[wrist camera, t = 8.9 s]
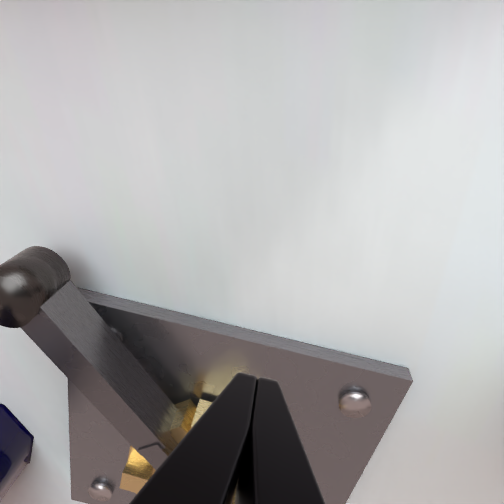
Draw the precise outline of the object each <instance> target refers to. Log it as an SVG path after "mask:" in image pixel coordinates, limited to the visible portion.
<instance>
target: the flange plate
mask: <svg viewBox="0 0 504 504" xmlns="http://www.w3.org/2000/svg"><path fill="white" fill-rule="evenodd" d="M76 288H77V287H76ZM77 289H78V290H79V291H80V293H81V294H82V295H83V296H84V297H85V299H86V300H87V301H88V302H89V303H90V305H91V306H92V307H93V308H94V309H95V311H96V312H97V313H98V314H99V315H100V317H101V318H102V319H103V320H104V321H105V323H106V324H107V325H108V326H109V327H110V329H111V330H112V331H113V332H114V333H115V335H116V336H117V337H118V338H119V339H120V341H121V342H122V343H123V344H124V345H125V347H126V348H127V349H128V350H129V351H130V352H131V354H132V355H133V356H134V357H135V358H136V360H137V361H138V362H139V363H140V364H141V366H142V367H143V368H144V369H145V370H146V372H147V373H148V374H149V375H150V376H151V378H152V379H153V380H154V381H155V382H156V384H157V385H158V386H159V387H160V388H161V390H162V391H163V392H164V393H165V394H166V396H167V397H168V398H169V399H170V400H171V402H172V403H173V404H176V403H179V402H182V401H185V400H188V399H191V400H192V401H193V403H194V404H195V405H196V406H198V403H199V400H200V399H203V400H206V401H209V402H213V401H214V400H215V399H216V398H217V397H218V395H219V394H220V393H221V392H222V391H223V389H224V388H225V387H226V386H227V384H228V383H229V382H230V381H231V380H232V378H233V377H234V376H235V375H236V374H237V373H239V372H242V373H247V374H251V375H255V376H256V377H257V380H258V378H259V377H265V378H269V379H274V380H277V381H278V382H279V384H280V387H281V389H282V392H283V394H284V397H285V400H286V402H287V405H288V407H289V410H290V413H291V415H292V418H293V420H294V423H295V425H296V428H297V431H298V433H299V436H300V438H301V441H302V444H303V446H304V449H305V451H306V454H307V457H308V459H309V462H310V464H311V467H312V470H313V472H314V475H315V477H316V480H317V483H318V485H319V488H320V490H321V493H322V495H323V498H324V501H325V503H326V504H345V503H346V501H347V500H348V498H349V496H350V494H351V492H352V490H353V489H354V487H355V485H356V483H357V481H358V480H359V478H360V476H361V474H362V472H363V471H364V469H365V467H366V465H367V463H368V462H369V460H370V458H371V456H372V454H373V452H374V451H375V449H376V447H377V445H378V443H379V442H380V440H381V438H382V436H383V434H384V433H385V431H386V429H387V427H388V425H389V424H390V422H391V420H392V418H393V416H394V414H395V413H396V411H397V409H398V407H399V405H400V404H401V402H402V400H403V398H404V396H405V395H406V393H407V391H408V389H409V387H410V386H411V384H412V382H413V380H412V377H411V374H410V372H409V369H408V368H405V367H401V366H397V365H393V364H389V363H385V362H381V361H377V360H372V359H368V358H364V357H360V356H356V355H352V354H348V353H344V352H340V351H335V350H331V349H327V348H323V347H319V346H315V345H311V344H307V343H303V342H299V341H294V340H290V339H286V338H282V337H278V336H274V335H270V334H266V333H262V332H257V331H253V330H249V329H245V328H241V327H237V326H233V325H229V324H225V323H221V322H216V321H212V320H208V319H204V318H200V317H196V316H192V315H188V314H184V313H179V312H175V311H171V310H167V309H163V308H159V307H155V306H151V305H147V304H143V303H138V302H134V301H130V300H126V299H122V298H118V297H114V296H110V295H106V294H101V293H97V292H93V291H89V290H85V289H81V288H77ZM68 402H69V435H70V468H71V499H72V500H76V501H80V502H84V503H88V504H129V503H130V502H131V500H132V499H133V498H134V497H135V496H136V493H134V492H131V491H127V490H124V489H121V488H120V483H121V478H122V472H123V470H124V468H125V466H126V463H127V461H128V455H129V450H130V443H129V442H128V441H127V440H126V439H125V438H124V437H123V436H122V435H121V434H120V433H119V432H118V431H117V430H116V429H115V428H114V426H113V425H112V424H111V423H110V422H109V421H108V420H107V419H106V418H105V417H104V416H103V415H102V414H101V413H100V412H99V410H98V409H97V408H96V407H95V406H94V405H93V404H92V403H91V402H90V401H89V400H88V399H87V398H86V397H85V396H84V394H83V393H82V392H81V391H80V390H79V389H78V388H77V387H76V386H75V385H74V384H73V383H72V382H71V381H70V380H69V379H68Z"/></svg>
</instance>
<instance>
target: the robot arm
mask: <svg viewBox="0 0 504 504" xmlns="http://www.w3.org/2000/svg"><path fill="white" fill-rule="evenodd" d="M236 485H237V488H236ZM235 489H236V495H235V504H326V503H325V501H324V498H323V495H322V493H321V490H320V488H319V485H318V483H317V480H316V477H315V475H314V472H313V470H312V467H311V464H310V462H309V459H308V457H307V454H306V451H305V449H304V446H303V444H302V441H301V438H300V436H299V433H298V431H297V428H296V425H295V423H294V420H293V418H292V415H291V413H290V410H289V407H288V405H287V402H286V400H285V397H284V394H283V392H282V389H281V387H280V384H279V382H278V381H277V380H274V379H269V378H265V377H259V378H258V380H257V377H256V376H255V375H251V374H247V373H242V372H239V373H237V374H236V375H235V376H234V377H233V378H232V380H231V381H230V382H229V383H228V384H227V386H226V387H225V388H224V389H223V391H222V392H221V393H220V394H219V395H218V397H217V398H216V399H215V400H214V401H213V403H212V404H211V405H210V406H209V407H208V409H207V410H206V411H205V412H204V413H203V415H202V416H201V417H200V418H199V419H198V421H197V422H196V423H195V424H194V426H193V427H192V428H191V429H190V430H189V432H188V433H187V434H186V435H185V436H184V438H183V439H182V440H181V441H180V442H179V444H178V445H177V446H176V447H175V448H174V450H173V451H172V452H171V453H170V454H169V456H168V457H167V458H166V459H165V461H164V462H163V463H162V464H161V465H160V467H159V468H158V469H157V470H156V471H155V473H154V474H153V475H152V476H151V477H150V479H149V480H148V481H147V482H146V483H145V485H144V486H143V487H142V488H141V490H140V491H139V492H138V493H137V494H136V496H135V497H134V498H133V499H132V500H131V502H130V503H129V504H232V501H233V497H234V493H235Z"/></svg>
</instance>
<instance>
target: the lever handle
mask: <svg viewBox="0 0 504 504" xmlns="http://www.w3.org/2000/svg"><path fill="white" fill-rule="evenodd" d="M0 325H2V326H5V327H9V328H19V327H21V328H22V330H23V331H24V332H25V333H26V334H27V335H28V336H29V337H30V338H31V339H32V340H33V341H34V342H35V343H36V344H37V346H38V347H39V348H40V349H41V350H42V351H43V352H44V353H45V354H46V355H47V356H48V357H49V358H50V359H51V360H52V361H53V363H54V364H55V365H56V366H57V367H58V368H59V369H60V370H61V371H62V372H63V373H64V374H65V375H66V376H67V377H68V379H69V380H70V381H71V382H72V383H73V384H74V385H75V386H76V387H77V388H78V389H79V390H80V391H81V392H82V393H83V394H84V396H85V397H86V398H87V399H88V400H89V401H90V402H91V403H92V404H93V405H94V406H95V407H96V408H97V409H98V410H99V412H100V413H101V414H102V415H103V416H104V417H105V418H106V419H107V420H108V421H109V422H110V423H111V424H112V425H113V426H114V428H115V429H116V430H117V431H118V432H119V433H120V434H121V435H122V436H123V437H124V438H125V439H126V440H127V441H128V442H129V443H130V450H129V455H128V461H127V463H126V466H125V468H124V470H123V472H122V478H121V483H120V488H121V489H124V490H127V491H131V492H134V493H136V494H137V493H138V492H139V491H140V490H141V488H142V487H143V486H144V485H145V483H146V482H147V481H148V480H149V479H150V477H151V476H152V475H153V474H154V473H155V471H156V470H157V469H158V468H159V467H160V465H161V464H162V463H163V462H164V461H165V459H166V458H167V457H168V456H169V454H170V453H171V452H172V451H173V450H174V448H175V447H176V446H177V445H178V444H179V442H180V441H181V440H182V439H183V438H184V436H185V435H186V434H187V433H188V432H189V430H190V429H191V428H192V427H193V426H194V424H195V423H196V422H197V421H198V419H199V418H200V417H201V416H202V415H203V413H204V412H205V411H206V410H207V409H208V407H209V406H210V405H211V404H212V403H213V402H209V401H206V400H203V399H200V400H199V403H198V406H196V405H195V404H194V403H193V401H192V400H191V399H188V400H185V401H182V402H179V403H176V404H173V403H172V402H171V400H170V399H169V398H168V397H167V396H166V394H165V393H164V392H163V391H162V390H161V388H160V387H159V386H158V385H157V384H156V382H155V381H154V380H153V379H152V378H151V376H150V375H149V374H148V373H147V372H146V370H145V369H144V368H143V367H142V366H141V364H140V363H139V362H138V361H137V360H136V358H135V357H134V356H133V355H132V354H131V352H130V351H129V350H128V349H127V348H126V347H125V345H124V344H123V343H122V342H121V341H120V339H119V338H118V337H117V336H116V335H115V333H114V332H113V331H112V330H111V329H110V327H109V326H108V325H107V324H106V323H105V321H104V320H103V319H102V318H101V317H100V315H99V314H98V313H97V312H96V311H95V309H94V308H93V307H92V306H91V305H90V303H89V302H88V301H87V300H86V299H85V297H84V296H83V295H82V294H81V293H80V291H79V290H78V289H77V288H76V287H75V285H74V284H73V283H72V282H71V281H70V271H69V268H68V266H67V264H66V263H65V261H64V260H63V259H62V258H61V257H60V256H59V255H58V254H57V253H55V252H54V251H52V250H50V249H48V248H45V247H40V246H33V247H29V248H27V249H25V250H23V251H22V252H20V253H19V254H17V255H15V256H14V257H12V258H11V259H9V260H8V261H6V262H4V263H3V264H1V265H0ZM236 488H237V485H236ZM235 495H236V489H235V493H234V497H233V501H232V504H235Z"/></svg>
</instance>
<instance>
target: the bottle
mask: <svg viewBox="0 0 504 504" xmlns="http://www.w3.org/2000/svg"><path fill="white" fill-rule="evenodd" d="M33 438H34V437H33V436H32V435H31V434H30V432H29V431H28V430H27V429H26V428H25V427H24V426H23V425H22V424H21V423H20V422H19V421H18V419H17V418H16V417H15V416H14V415H13V414H12V413H11V412H10V411H9V410H8V409H7V407H6V406H5V405H3V404H0V501H1V500H2V498H3V497H4V496H5V494H6V493H7V491H8V490H9V488H10V487H11V486H12V484H13V483H14V481H15V480H16V479H17V477H18V476H19V474H20V473H21V471H22V470H23V469H24V467H25V466H26V464H28V463H30V457H31V451H32V445H33Z"/></svg>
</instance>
